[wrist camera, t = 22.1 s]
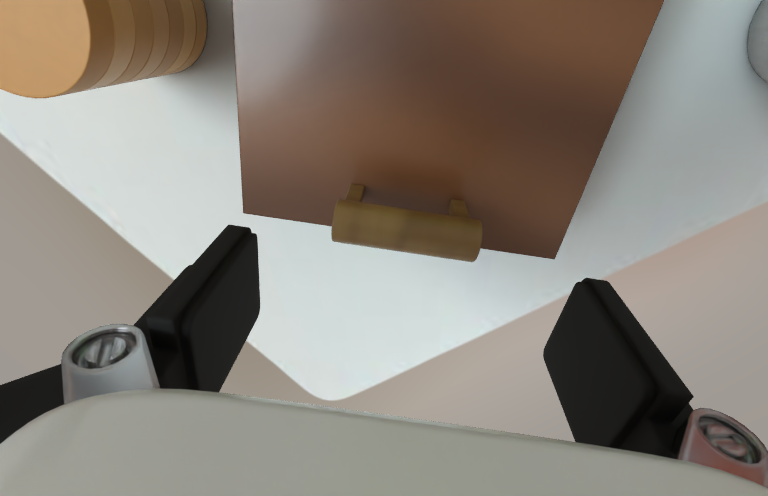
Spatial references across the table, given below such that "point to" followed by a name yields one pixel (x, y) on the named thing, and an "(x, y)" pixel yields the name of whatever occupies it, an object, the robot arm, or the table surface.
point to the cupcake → (759, 41)
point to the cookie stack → (95, 43)
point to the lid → (431, 115)
